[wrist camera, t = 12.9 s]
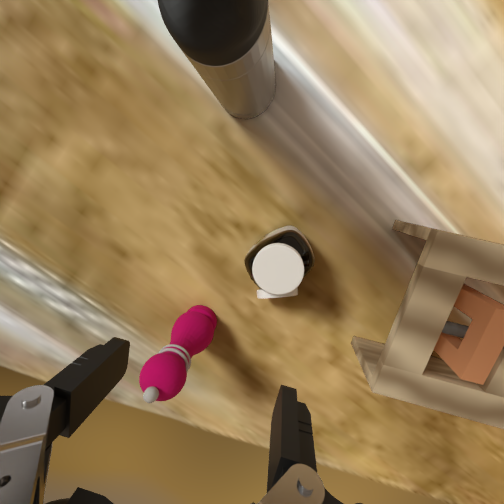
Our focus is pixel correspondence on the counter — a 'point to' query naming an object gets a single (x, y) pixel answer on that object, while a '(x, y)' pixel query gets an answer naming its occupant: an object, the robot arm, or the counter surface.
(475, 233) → the counter surface
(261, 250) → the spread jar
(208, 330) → the pepper mill
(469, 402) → the beige hollow rectangular block
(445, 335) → the orange notched plate
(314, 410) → the counter surface
